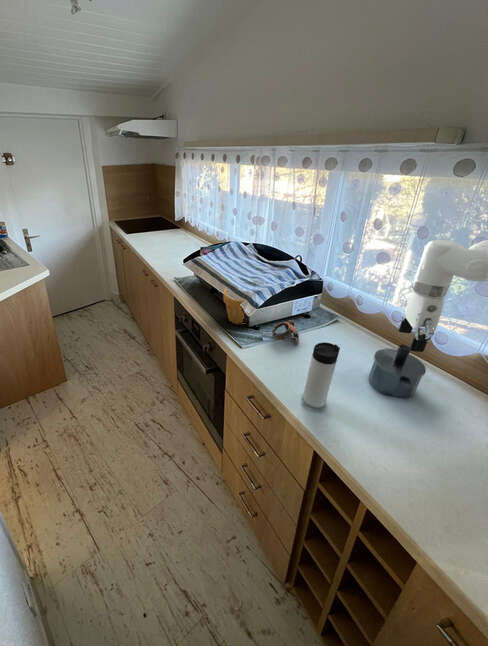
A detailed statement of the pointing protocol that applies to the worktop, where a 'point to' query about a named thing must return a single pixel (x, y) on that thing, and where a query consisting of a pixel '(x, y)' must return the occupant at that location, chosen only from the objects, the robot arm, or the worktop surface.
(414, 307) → the robot arm
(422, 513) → the worktop surface
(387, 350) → the lid
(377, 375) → the pot
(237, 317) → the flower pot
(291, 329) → the brown goggles
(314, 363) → the travel mug
